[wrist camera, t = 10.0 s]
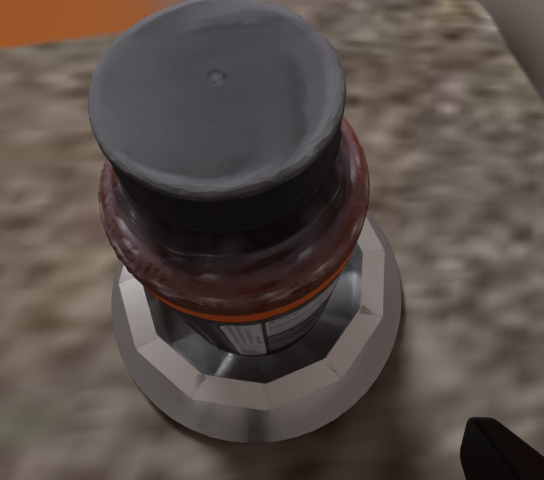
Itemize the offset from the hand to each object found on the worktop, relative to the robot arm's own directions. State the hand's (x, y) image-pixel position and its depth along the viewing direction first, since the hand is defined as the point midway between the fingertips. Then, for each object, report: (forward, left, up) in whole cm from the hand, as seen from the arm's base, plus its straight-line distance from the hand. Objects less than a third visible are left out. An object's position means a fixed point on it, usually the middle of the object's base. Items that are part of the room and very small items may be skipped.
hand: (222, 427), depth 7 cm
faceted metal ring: (+3, -4, -8) cm, 10 cm away
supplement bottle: (+3, -4, -8) cm, 9 cm away
